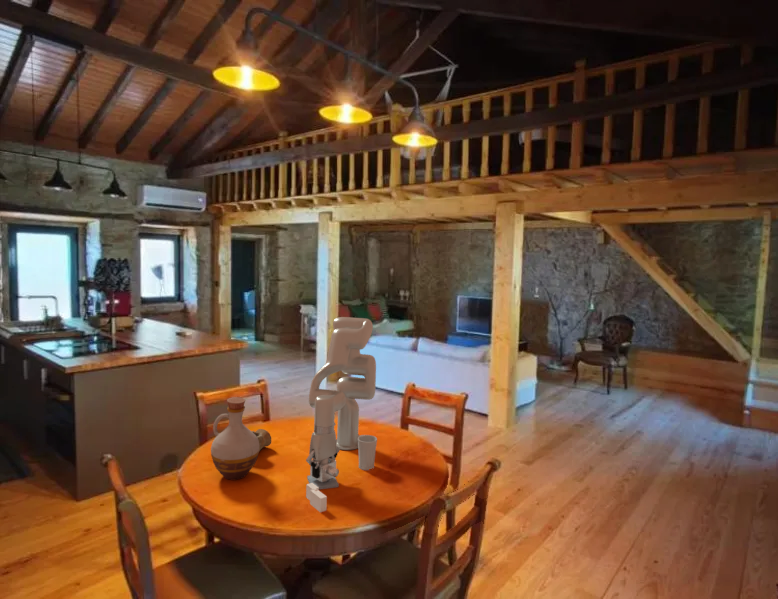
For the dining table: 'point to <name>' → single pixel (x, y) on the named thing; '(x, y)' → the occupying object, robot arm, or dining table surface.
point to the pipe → (263, 438)
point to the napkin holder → (316, 497)
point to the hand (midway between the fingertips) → (322, 473)
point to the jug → (234, 443)
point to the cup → (366, 451)
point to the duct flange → (326, 484)
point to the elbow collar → (326, 470)
